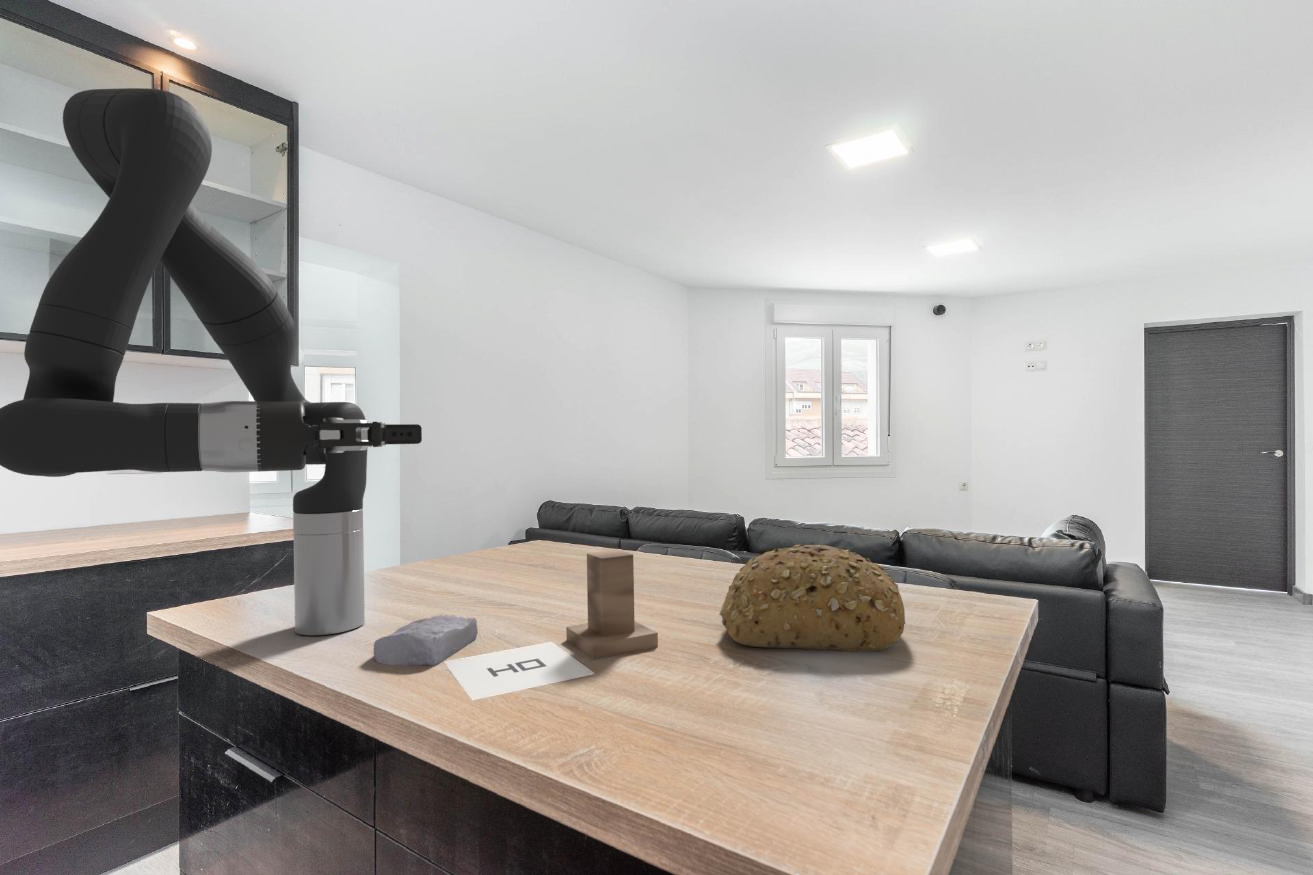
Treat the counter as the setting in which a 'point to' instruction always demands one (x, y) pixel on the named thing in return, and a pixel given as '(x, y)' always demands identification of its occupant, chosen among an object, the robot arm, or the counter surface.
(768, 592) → the bread
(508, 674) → the tile
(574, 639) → the walnut stamp
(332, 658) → the counter surface
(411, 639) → the stone block
